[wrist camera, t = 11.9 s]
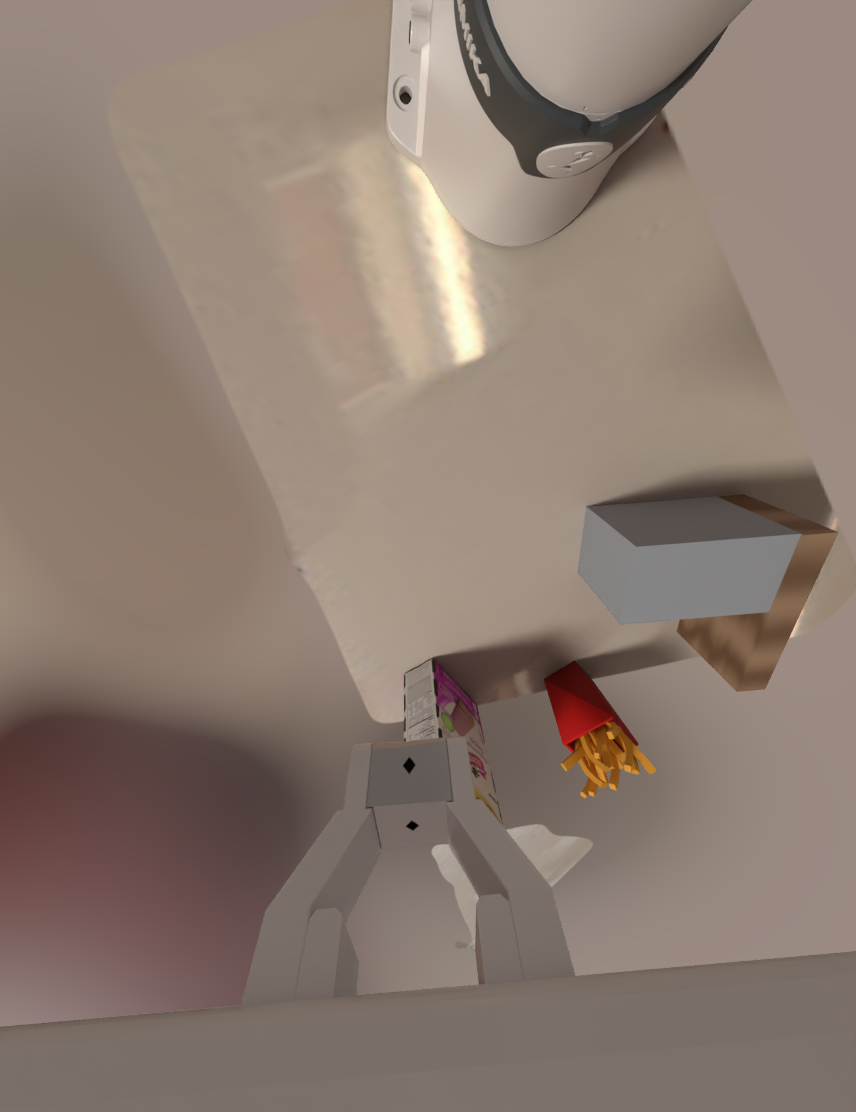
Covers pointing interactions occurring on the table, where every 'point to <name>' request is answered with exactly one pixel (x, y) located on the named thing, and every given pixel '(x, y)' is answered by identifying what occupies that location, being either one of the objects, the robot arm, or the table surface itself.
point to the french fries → (591, 730)
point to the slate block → (683, 559)
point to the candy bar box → (448, 722)
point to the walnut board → (759, 639)
